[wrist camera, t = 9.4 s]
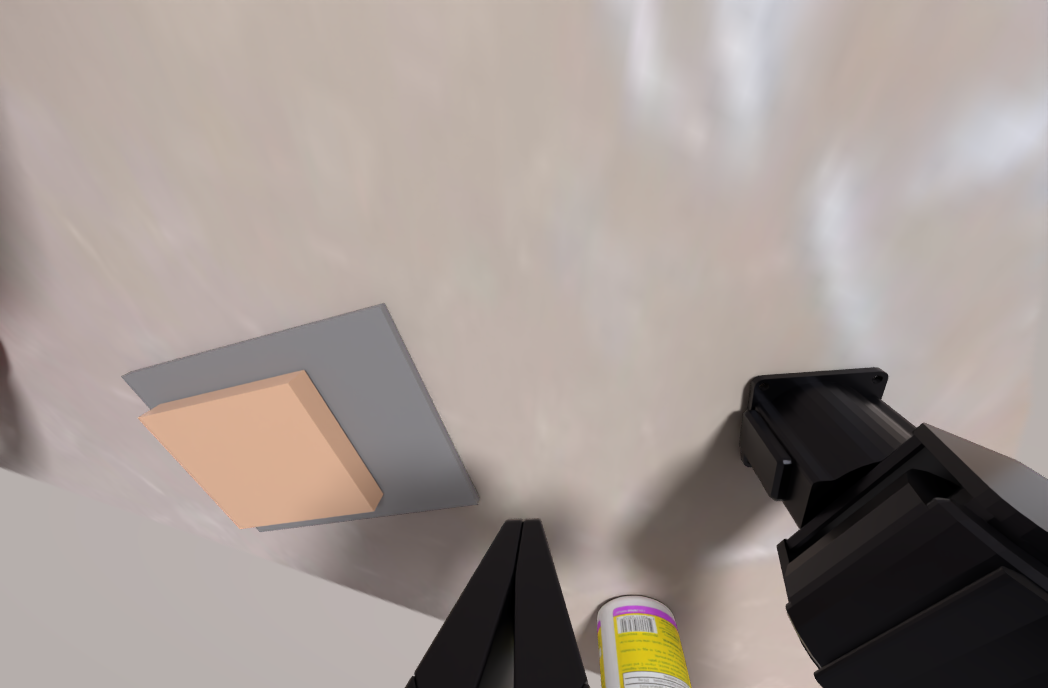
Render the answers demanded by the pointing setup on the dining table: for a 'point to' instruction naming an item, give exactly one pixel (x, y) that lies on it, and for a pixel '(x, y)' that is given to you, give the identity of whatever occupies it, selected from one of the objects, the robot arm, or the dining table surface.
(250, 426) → the tile
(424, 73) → the dining table surface
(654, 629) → the supplement bottle
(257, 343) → the mat
